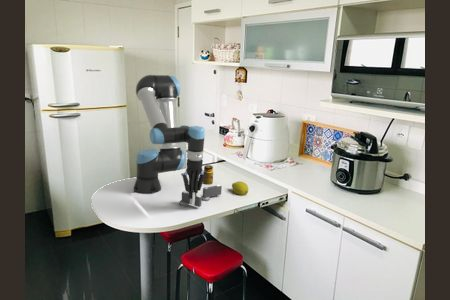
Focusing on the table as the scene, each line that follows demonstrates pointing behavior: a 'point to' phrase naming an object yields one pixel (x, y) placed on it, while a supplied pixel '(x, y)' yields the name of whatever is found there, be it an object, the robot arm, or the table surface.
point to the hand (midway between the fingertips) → (192, 204)
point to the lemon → (240, 188)
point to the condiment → (208, 175)
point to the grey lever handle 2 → (211, 192)
